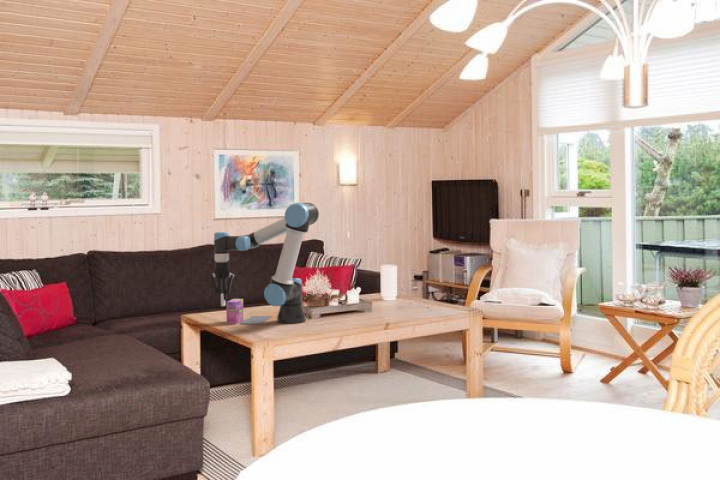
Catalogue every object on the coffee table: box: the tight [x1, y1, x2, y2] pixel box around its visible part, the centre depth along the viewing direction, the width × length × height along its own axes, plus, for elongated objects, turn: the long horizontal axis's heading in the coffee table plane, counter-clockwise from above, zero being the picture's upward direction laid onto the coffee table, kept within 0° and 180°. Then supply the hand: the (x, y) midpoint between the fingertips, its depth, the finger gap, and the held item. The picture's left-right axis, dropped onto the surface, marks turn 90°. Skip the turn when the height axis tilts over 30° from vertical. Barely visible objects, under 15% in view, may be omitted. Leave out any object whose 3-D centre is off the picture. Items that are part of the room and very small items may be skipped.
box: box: [225, 298, 244, 325], centre depth 388 cm, size 10×6×12 cm, turn 168°
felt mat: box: [238, 315, 273, 325], centre depth 393 cm, size 11×24×1 cm, turn 171°
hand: (223, 305), depth 388 cm, fingers closed
